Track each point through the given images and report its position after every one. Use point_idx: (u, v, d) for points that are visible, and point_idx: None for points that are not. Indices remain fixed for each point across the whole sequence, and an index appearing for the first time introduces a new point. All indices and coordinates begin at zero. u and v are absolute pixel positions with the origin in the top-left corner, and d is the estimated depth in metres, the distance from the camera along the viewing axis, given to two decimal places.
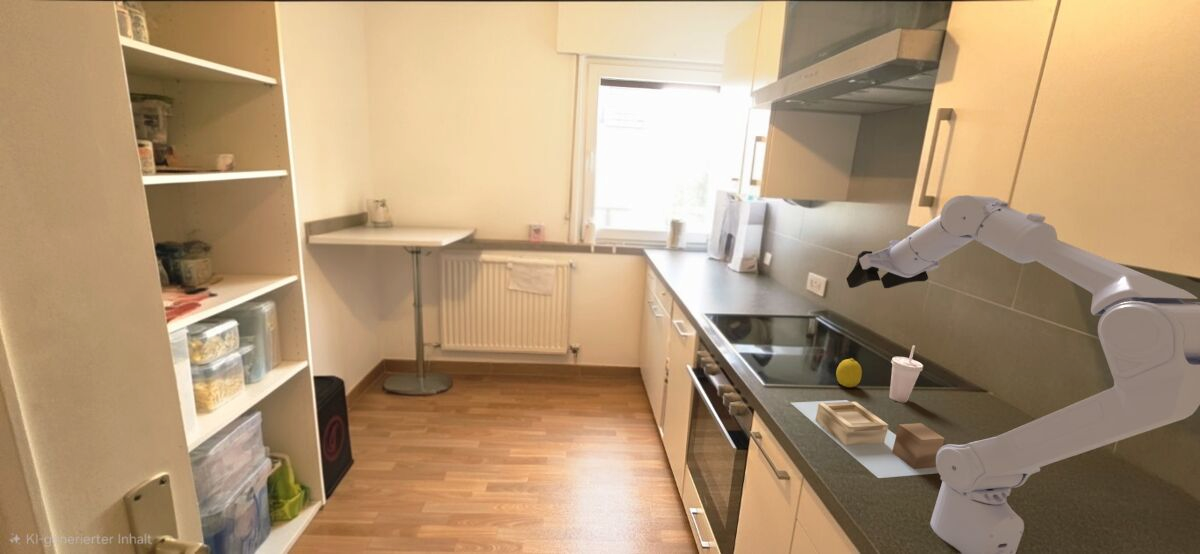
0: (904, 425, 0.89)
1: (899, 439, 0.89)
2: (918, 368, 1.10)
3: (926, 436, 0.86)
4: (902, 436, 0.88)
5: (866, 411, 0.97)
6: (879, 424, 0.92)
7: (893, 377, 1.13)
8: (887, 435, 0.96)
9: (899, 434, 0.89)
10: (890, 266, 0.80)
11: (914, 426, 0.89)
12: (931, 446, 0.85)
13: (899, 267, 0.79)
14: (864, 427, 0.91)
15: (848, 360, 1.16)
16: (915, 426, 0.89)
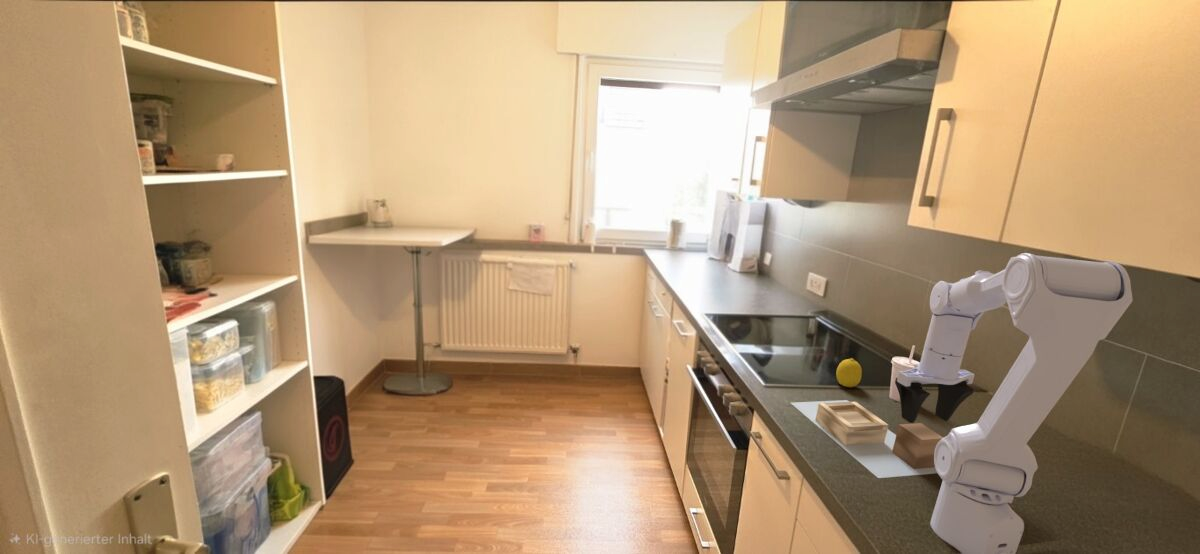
0: (904, 425, 0.89)
1: (899, 439, 0.89)
2: None
3: (926, 436, 0.86)
4: (902, 436, 0.88)
5: (866, 411, 0.97)
6: (879, 424, 0.92)
7: (893, 377, 1.13)
8: (887, 435, 0.96)
9: (899, 434, 0.89)
10: (928, 378, 0.83)
11: (914, 426, 0.89)
12: (931, 446, 0.85)
13: (936, 375, 0.82)
14: (864, 427, 0.91)
15: (848, 360, 1.16)
16: (915, 426, 0.89)
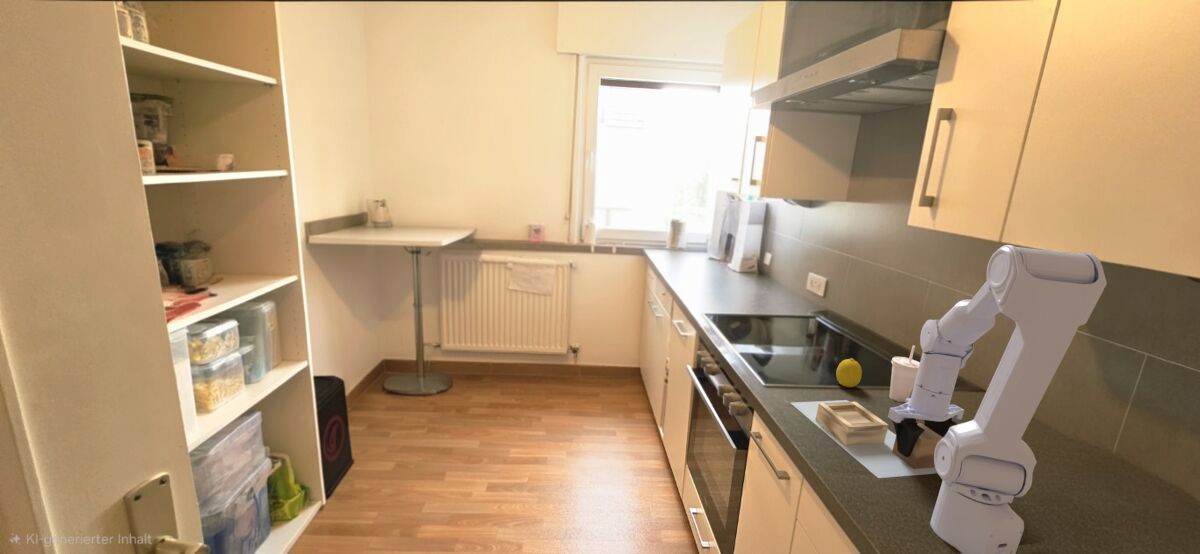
0: None
1: None
2: None
3: (926, 436, 0.86)
4: None
5: (866, 411, 0.97)
6: (879, 424, 0.92)
7: (893, 377, 1.13)
8: (887, 435, 0.96)
9: None
10: (919, 414, 0.84)
11: None
12: (931, 446, 0.85)
13: (926, 411, 0.84)
14: (864, 427, 0.91)
15: (848, 360, 1.16)
16: None
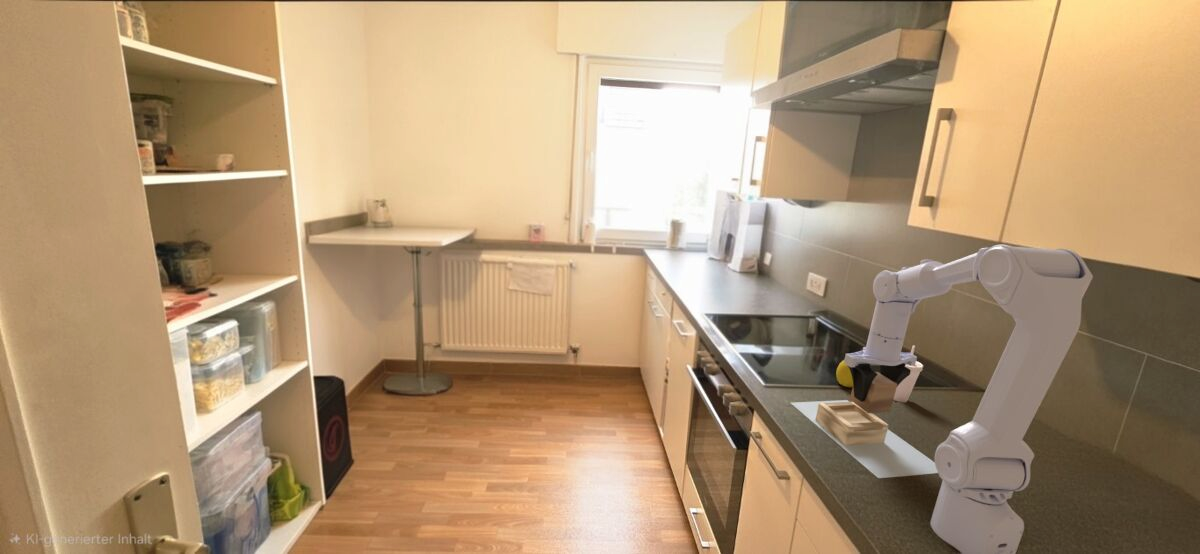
0: None
1: None
2: (918, 368, 1.10)
3: (880, 381, 0.90)
4: None
5: None
6: (879, 424, 0.92)
7: None
8: (887, 435, 0.96)
9: None
10: None
11: None
12: (885, 391, 0.90)
13: (879, 356, 0.88)
14: (864, 427, 0.91)
15: None
16: None
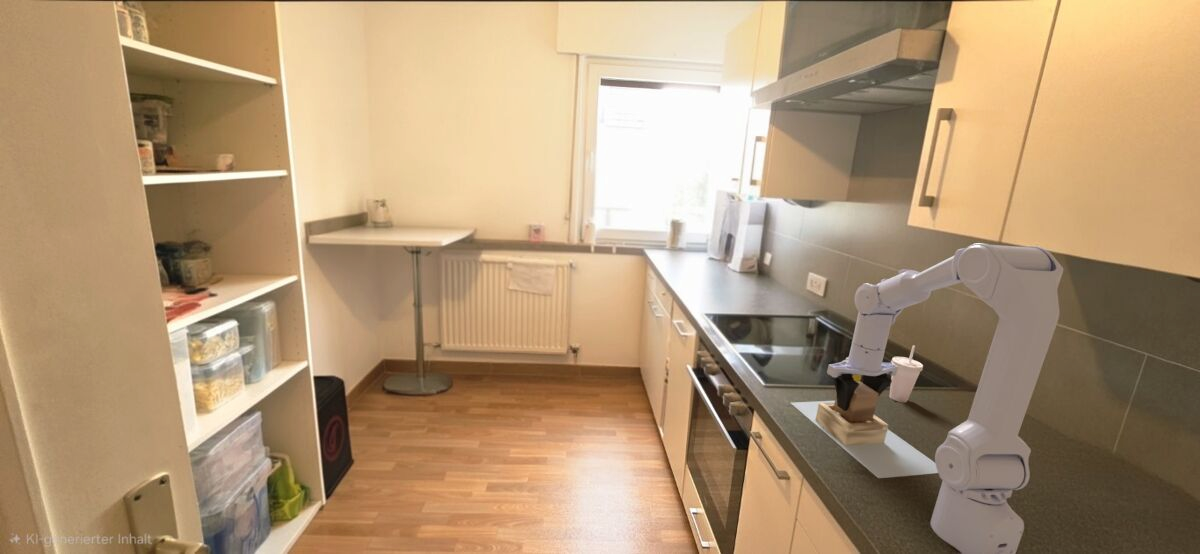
0: None
1: None
2: (918, 368, 1.10)
3: (862, 391, 0.93)
4: None
5: None
6: (879, 424, 0.92)
7: (893, 377, 1.13)
8: (887, 435, 0.96)
9: None
10: (854, 370, 0.91)
11: None
12: (867, 400, 0.92)
13: (861, 367, 0.91)
14: (864, 427, 0.91)
15: None
16: None
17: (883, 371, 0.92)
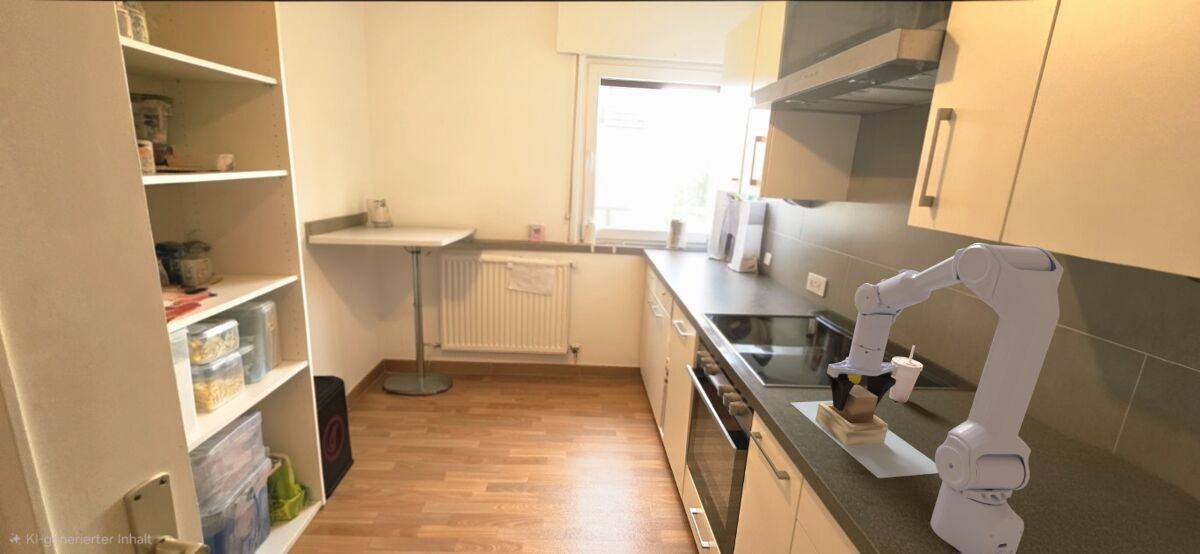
0: None
1: None
2: (918, 368, 1.10)
3: (861, 395, 0.93)
4: None
5: None
6: (879, 424, 0.92)
7: (893, 377, 1.13)
8: (887, 435, 0.96)
9: None
10: (854, 370, 0.91)
11: None
12: (866, 404, 0.92)
13: (861, 367, 0.91)
14: (864, 427, 0.91)
15: None
16: (853, 387, 0.96)
17: (883, 371, 0.92)
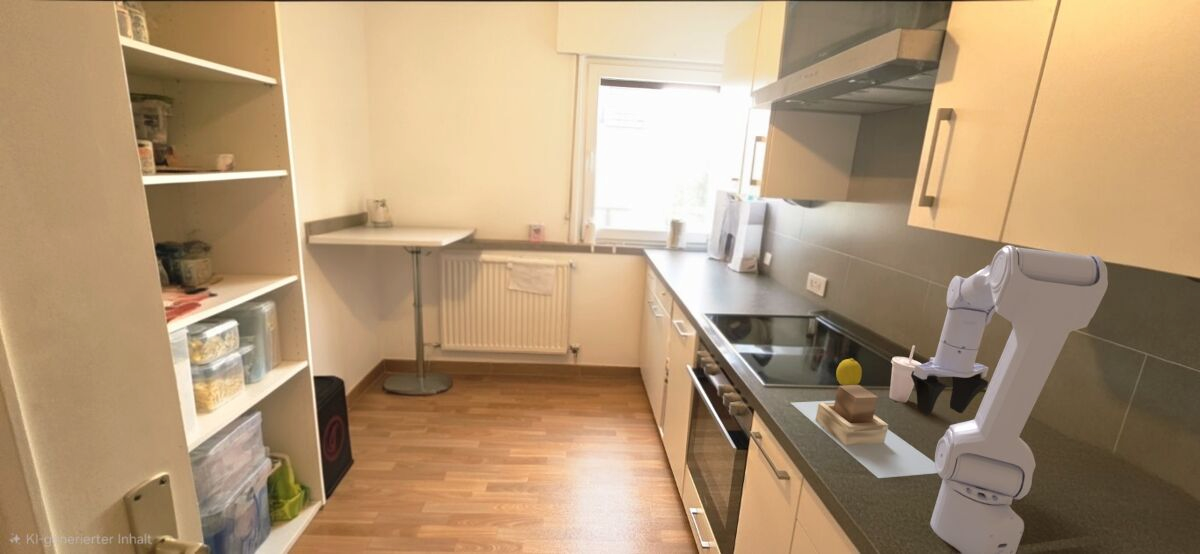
0: (842, 386, 0.96)
1: (838, 399, 0.96)
2: None
3: (861, 395, 0.93)
4: (841, 396, 0.95)
5: None
6: (879, 424, 0.92)
7: (893, 377, 1.13)
8: (887, 435, 0.96)
9: (838, 394, 0.96)
10: (944, 371, 0.85)
11: (852, 387, 0.96)
12: (866, 404, 0.92)
13: (952, 368, 0.84)
14: (864, 427, 0.91)
15: (848, 360, 1.16)
16: (853, 387, 0.96)
17: (975, 372, 0.85)
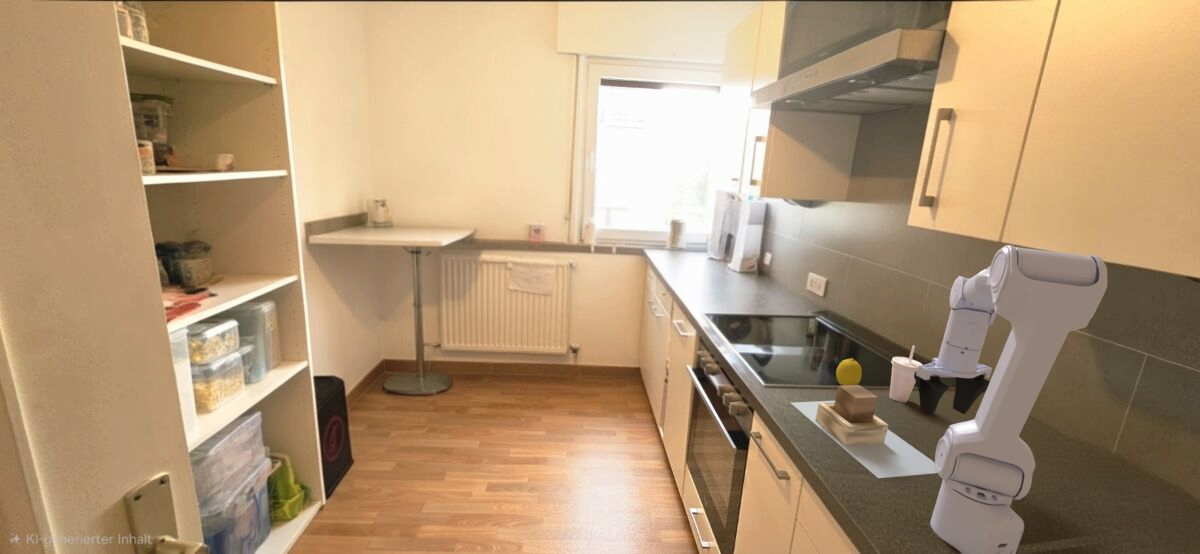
0: (842, 386, 0.96)
1: (838, 399, 0.96)
2: None
3: (861, 395, 0.93)
4: (841, 396, 0.95)
5: None
6: (879, 424, 0.92)
7: (893, 377, 1.13)
8: (887, 435, 0.96)
9: (838, 394, 0.96)
10: None
11: (852, 387, 0.96)
12: (866, 404, 0.92)
13: (955, 368, 0.84)
14: (864, 427, 0.91)
15: (848, 360, 1.16)
16: (853, 387, 0.96)
17: (978, 373, 0.85)
